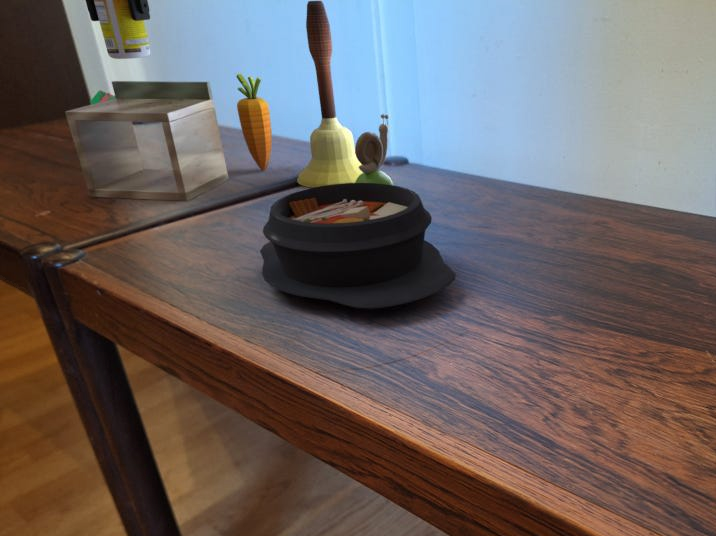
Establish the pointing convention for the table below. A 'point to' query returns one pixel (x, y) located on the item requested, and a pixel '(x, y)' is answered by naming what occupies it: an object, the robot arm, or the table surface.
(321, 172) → the handbell
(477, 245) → the table surface
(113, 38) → the supplement bottle
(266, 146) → the carrot
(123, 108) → the shelf
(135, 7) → the robot arm
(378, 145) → the snail figurine
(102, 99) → the building blocks
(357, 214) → the casserole
